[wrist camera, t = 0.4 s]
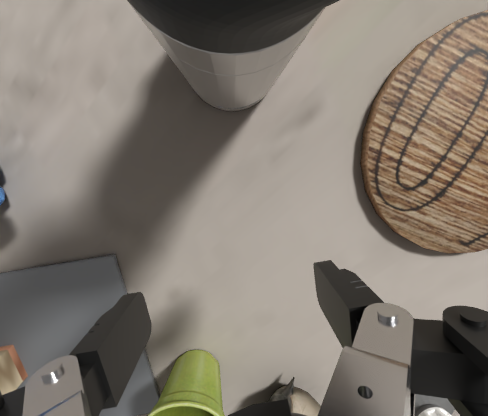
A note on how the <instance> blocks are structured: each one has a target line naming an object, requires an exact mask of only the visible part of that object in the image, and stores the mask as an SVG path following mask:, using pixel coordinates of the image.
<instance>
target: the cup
mask: <svg viewBox="0 0 488 416" xmlns="http://www.w3.org/2000/svg"><path fill="white" fill-rule="evenodd" d="M454 410H455V408H454V407H453V405H452V404H451V403H450V402H449V400H448V399H447V398H439V397H432V396H425V395H418V394H415V414H414V416H452V413H453V411H454Z"/></svg>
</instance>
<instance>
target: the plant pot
mask: <svg viewBox="0 0 488 416" xmlns="http://www.w3.org/2000/svg"><path fill="white" fill-rule="evenodd" d="M147 416H225V415H224V412H223V407H222V395H221V381H220V368H219V363H218V361H217V360H216V359H215V358H214V357H213V356H212V355H211V354H210V353H208V352H206V351H203V350H191V351H188V352H186V353H185V354H183V355H182V356H180V357H178V359H177V360H176V362H175V364H174V366H173V369H172V371H171V373H170V375H169V378H168V380H167V382H166V384H165V387H164V389H163V391H162V393H161V396H160V398H159V400H158V402H157V404H156V405H155V406H154V407H153V409H152V411H151V412H150V413H149V414H148V415H147Z"/></svg>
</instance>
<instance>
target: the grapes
mask: <svg viewBox="0 0 488 416" xmlns="http://www.w3.org/2000/svg"><path fill="white" fill-rule="evenodd" d="M4 200H5V192H4V190H3V188H2V187H0V206H1V204H2V203H3V202H4Z"/></svg>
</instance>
